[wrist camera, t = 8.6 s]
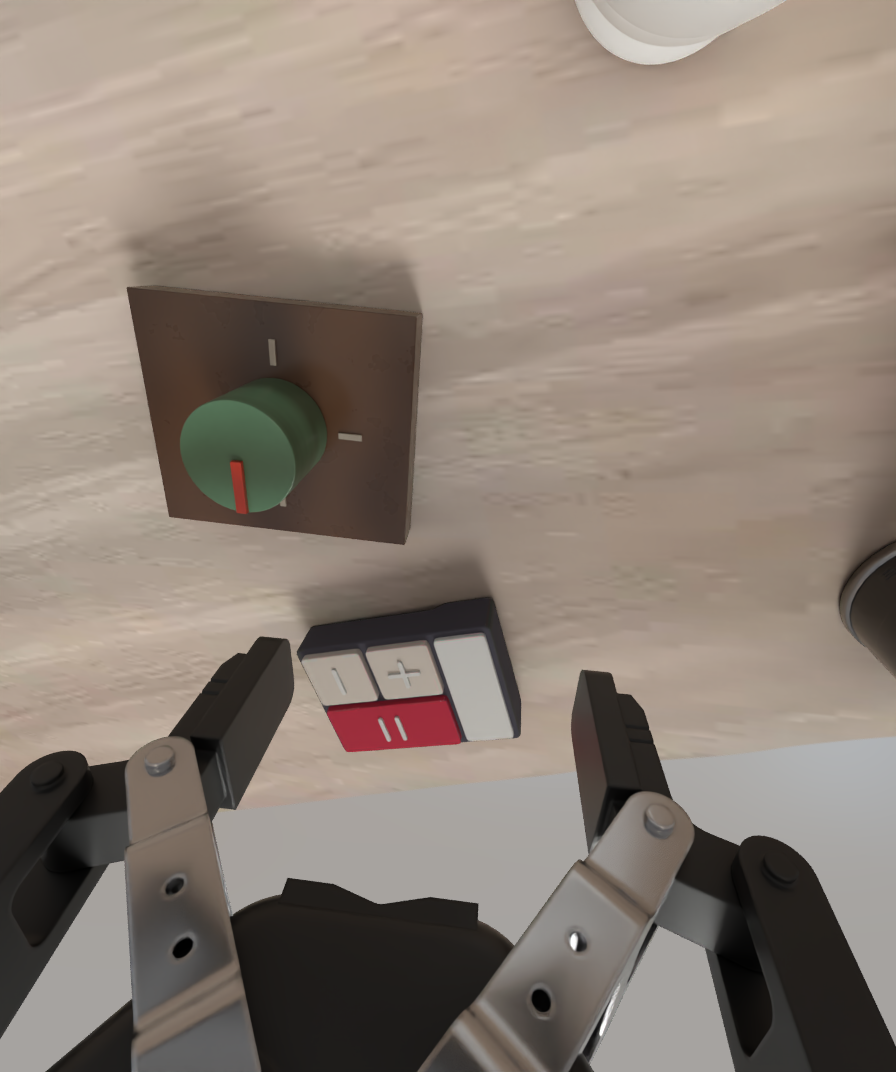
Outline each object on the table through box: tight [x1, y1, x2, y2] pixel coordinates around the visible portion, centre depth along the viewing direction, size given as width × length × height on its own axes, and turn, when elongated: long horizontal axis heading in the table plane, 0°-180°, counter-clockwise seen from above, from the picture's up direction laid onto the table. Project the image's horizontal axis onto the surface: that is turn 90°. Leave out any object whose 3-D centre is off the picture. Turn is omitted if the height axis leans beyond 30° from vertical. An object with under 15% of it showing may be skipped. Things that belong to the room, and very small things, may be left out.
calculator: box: [297, 598, 521, 752], centre depth 40 cm, size 11×4×15 cm
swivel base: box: [127, 286, 423, 545], centre depth 32 cm, size 16×14×3 cm
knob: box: [180, 378, 327, 514], centre depth 29 cm, size 6×6×6 cm
